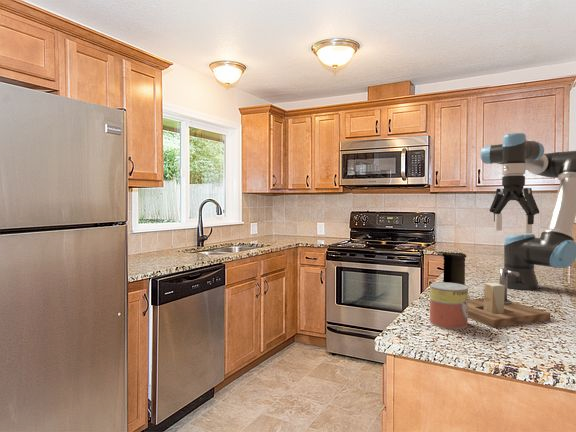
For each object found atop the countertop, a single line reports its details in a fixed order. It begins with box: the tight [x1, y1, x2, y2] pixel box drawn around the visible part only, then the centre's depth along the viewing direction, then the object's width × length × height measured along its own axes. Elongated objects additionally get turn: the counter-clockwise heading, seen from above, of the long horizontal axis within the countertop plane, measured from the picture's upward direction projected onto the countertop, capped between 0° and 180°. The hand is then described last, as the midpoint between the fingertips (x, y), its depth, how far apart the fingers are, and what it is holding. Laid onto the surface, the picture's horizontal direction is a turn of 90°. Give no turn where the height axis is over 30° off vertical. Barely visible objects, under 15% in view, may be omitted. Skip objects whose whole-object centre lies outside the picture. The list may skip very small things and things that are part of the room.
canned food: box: [429, 281, 469, 330], centre depth 129 cm, size 11×11×12 cm
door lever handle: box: [499, 267, 520, 304], centre depth 142 cm, size 5×8×12 cm, turn 17°
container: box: [442, 252, 467, 285], centre depth 158 cm, size 9×9×18 cm
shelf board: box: [468, 297, 551, 329], centre depth 138 cm, size 23×22×2 cm
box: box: [483, 282, 505, 314], centre depth 135 cm, size 5×4×11 cm
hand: (512, 232), depth 153 cm, fingers open, 13 cm apart
